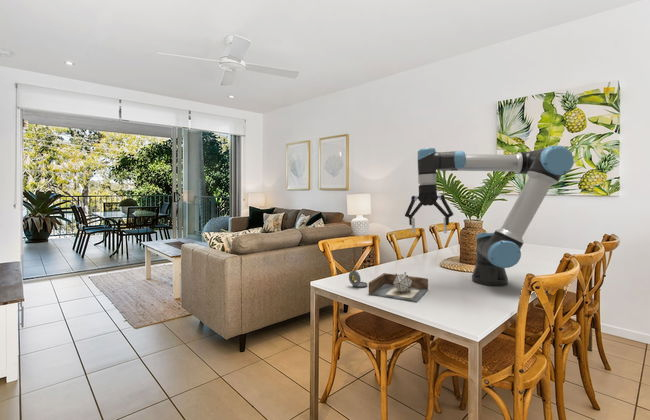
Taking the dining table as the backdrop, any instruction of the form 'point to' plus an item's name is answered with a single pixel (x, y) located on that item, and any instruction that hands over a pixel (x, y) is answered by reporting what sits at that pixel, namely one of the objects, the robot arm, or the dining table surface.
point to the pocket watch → (357, 278)
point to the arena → (385, 289)
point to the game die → (402, 282)
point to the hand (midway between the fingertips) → (429, 232)
